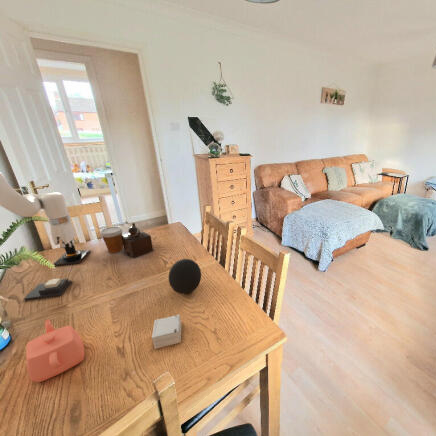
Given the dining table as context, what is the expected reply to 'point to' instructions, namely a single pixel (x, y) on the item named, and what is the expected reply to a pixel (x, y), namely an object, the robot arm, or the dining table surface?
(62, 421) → the dining table surface
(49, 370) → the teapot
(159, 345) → the small box
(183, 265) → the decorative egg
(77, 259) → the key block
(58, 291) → the dark grey base
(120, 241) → the disposable coffee cup
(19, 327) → the dining table surface
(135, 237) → the brown coffee grinder
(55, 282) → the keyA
